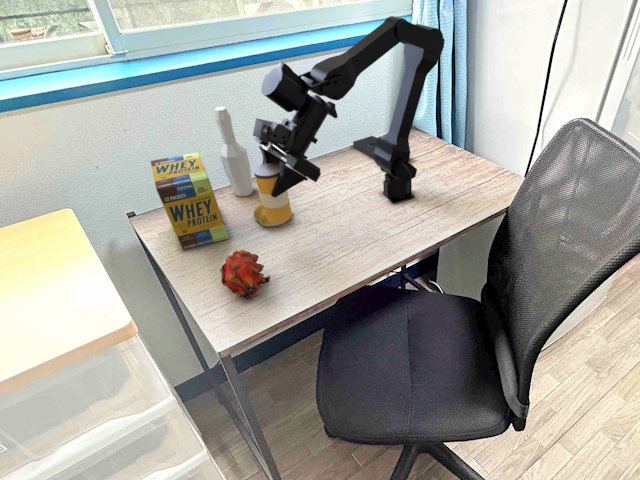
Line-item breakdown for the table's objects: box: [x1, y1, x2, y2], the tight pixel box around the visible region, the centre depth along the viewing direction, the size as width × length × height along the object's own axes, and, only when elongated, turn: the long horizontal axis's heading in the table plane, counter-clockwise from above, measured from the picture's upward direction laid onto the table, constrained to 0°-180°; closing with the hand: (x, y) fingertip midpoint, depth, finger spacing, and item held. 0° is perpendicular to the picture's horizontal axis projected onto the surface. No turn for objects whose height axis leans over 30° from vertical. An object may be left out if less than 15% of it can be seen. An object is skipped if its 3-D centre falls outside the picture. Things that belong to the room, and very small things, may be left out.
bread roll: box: [253, 201, 287, 228], centre depth 106 cm, size 8×9×4 cm
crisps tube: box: [253, 163, 293, 223], centre depth 91 cm, size 6×6×11 cm
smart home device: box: [352, 135, 410, 162], centre depth 133 cm, size 8×2×20 cm
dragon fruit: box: [219, 249, 271, 300], centre depth 85 cm, size 8×8×12 cm
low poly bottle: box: [214, 106, 254, 197], centre depth 110 cm, size 6×6×22 cm
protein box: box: [150, 152, 229, 251], centre depth 99 cm, size 10×15×16 cm
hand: (266, 190), depth 90 cm, fingers closed on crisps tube, 6 cm apart
